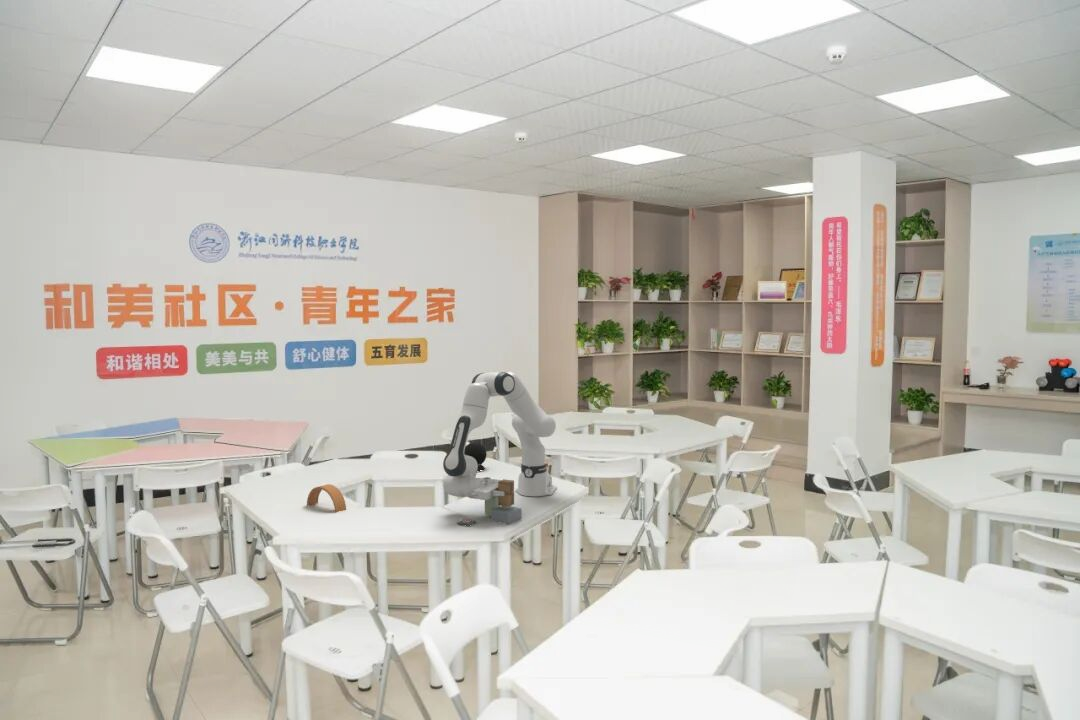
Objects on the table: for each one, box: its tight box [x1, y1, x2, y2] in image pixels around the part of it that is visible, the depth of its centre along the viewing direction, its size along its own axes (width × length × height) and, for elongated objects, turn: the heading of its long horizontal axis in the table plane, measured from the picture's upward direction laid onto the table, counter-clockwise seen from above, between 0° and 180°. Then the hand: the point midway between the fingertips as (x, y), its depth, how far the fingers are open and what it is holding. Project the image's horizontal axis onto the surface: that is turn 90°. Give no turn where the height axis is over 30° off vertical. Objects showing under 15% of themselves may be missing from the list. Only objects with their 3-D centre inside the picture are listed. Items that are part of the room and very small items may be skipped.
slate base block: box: [490, 505, 522, 525], centre depth 308 cm, size 9×9×5 cm
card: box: [456, 518, 477, 527], centre depth 303 cm, size 6×6×1 cm
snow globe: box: [464, 442, 488, 472], centre depth 403 cm, size 13×13×15 cm
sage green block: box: [484, 496, 500, 517], centre depth 316 cm, size 5×5×8 cm
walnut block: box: [498, 478, 515, 507], centre depth 308 cm, size 5×5×10 cm
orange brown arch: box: [306, 484, 347, 513], centre depth 327 cm, size 6×20×10 cm, turn 55°
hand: (508, 491), depth 307 cm, fingers closed on walnut block, 5 cm apart
